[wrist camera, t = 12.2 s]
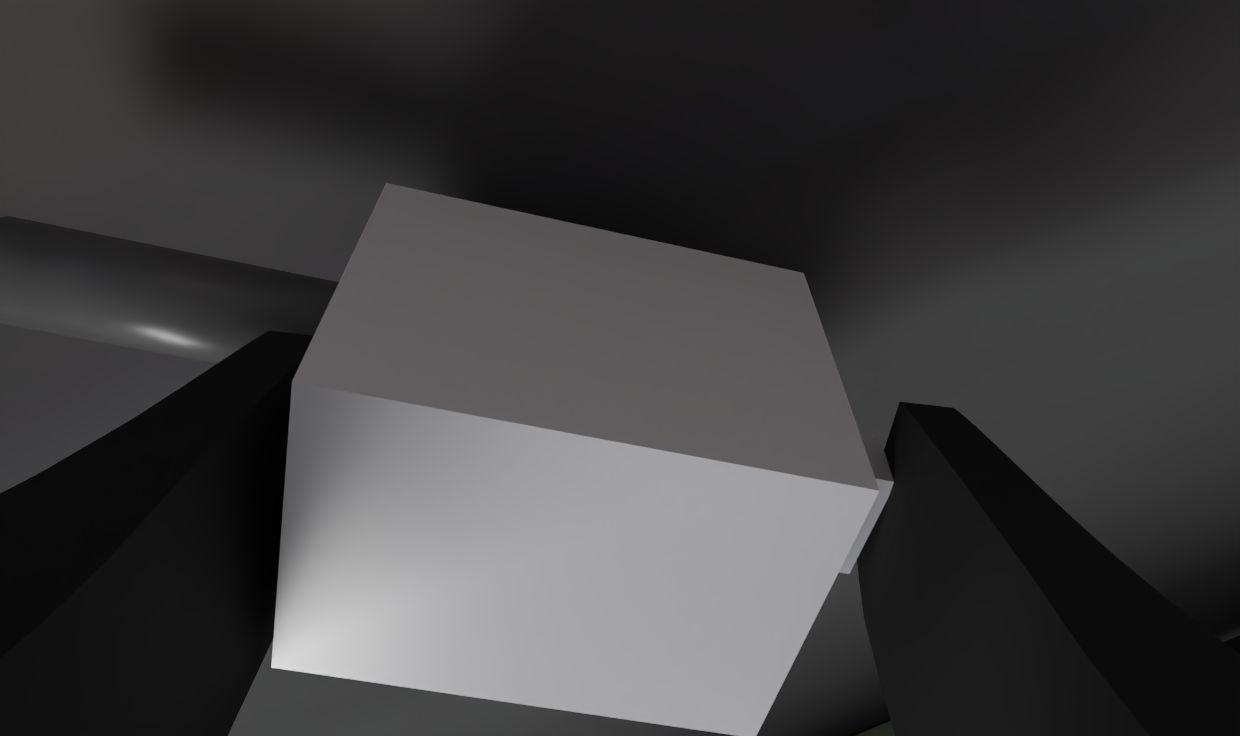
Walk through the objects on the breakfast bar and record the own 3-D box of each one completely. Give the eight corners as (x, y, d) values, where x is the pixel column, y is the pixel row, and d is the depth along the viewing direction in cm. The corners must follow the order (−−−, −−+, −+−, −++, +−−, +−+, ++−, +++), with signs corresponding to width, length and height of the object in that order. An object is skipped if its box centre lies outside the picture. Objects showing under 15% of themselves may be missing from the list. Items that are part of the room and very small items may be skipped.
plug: (37, 366, 13) (-169, 603, 9) (14, 102, 11) (-259, 280, 7) (787, 502, 14) (844, 750, 11) (881, 289, 12) (986, 510, 9)
